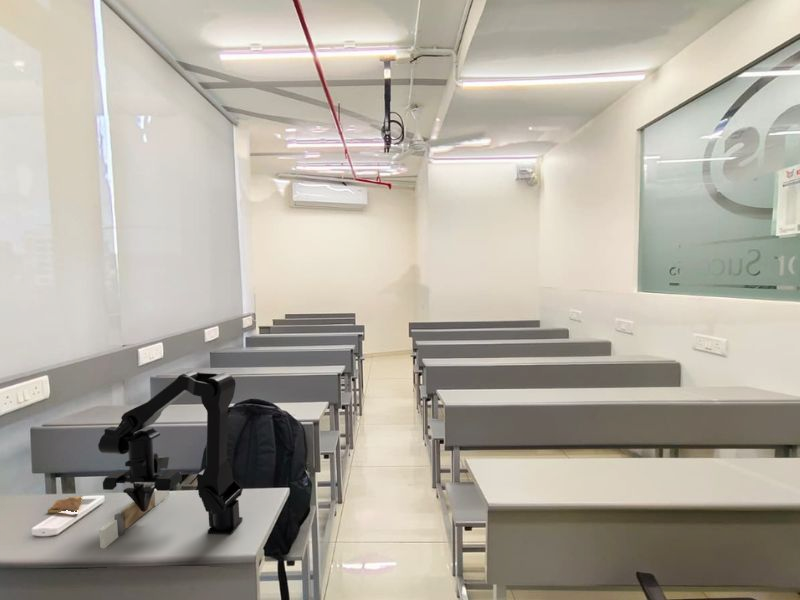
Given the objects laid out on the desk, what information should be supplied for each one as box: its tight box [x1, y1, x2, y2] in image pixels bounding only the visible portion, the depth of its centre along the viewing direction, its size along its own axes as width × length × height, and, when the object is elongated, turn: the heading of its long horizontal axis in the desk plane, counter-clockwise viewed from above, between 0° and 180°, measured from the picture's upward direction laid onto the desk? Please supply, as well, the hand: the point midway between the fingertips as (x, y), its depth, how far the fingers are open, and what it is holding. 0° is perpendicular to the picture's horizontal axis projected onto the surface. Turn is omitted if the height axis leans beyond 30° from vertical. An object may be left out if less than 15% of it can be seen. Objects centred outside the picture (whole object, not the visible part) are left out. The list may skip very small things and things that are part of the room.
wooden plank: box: [120, 495, 154, 530], centre depth 112 cm, size 10×2×5 cm, turn 175°
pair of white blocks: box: [98, 489, 170, 549], centre depth 112 cm, size 2×24×5 cm, turn 175°
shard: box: [47, 496, 83, 514], centre depth 118 cm, size 11×8×2 cm
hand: (144, 510), depth 111 cm, fingers closed
